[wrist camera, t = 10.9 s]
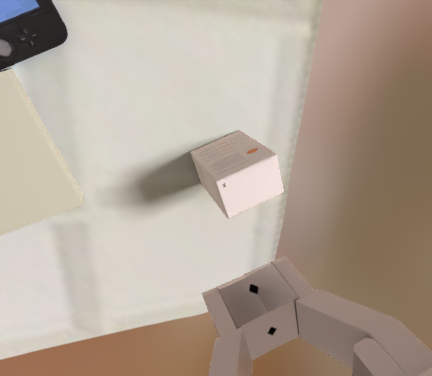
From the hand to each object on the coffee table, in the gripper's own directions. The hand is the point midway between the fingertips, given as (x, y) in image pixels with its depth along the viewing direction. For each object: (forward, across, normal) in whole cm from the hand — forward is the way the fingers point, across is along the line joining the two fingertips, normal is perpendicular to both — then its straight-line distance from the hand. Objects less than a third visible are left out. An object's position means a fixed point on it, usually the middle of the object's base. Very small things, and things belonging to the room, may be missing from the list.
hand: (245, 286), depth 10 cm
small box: (+32, -9, +11) cm, 35 cm away
